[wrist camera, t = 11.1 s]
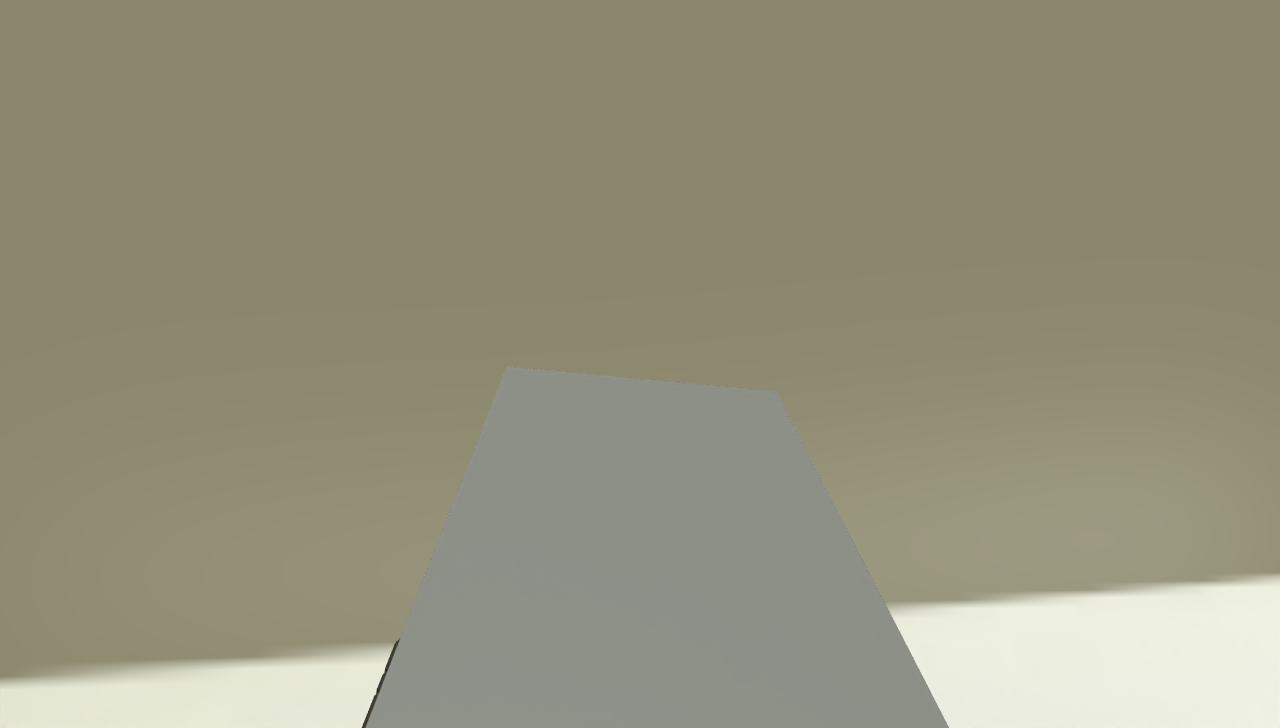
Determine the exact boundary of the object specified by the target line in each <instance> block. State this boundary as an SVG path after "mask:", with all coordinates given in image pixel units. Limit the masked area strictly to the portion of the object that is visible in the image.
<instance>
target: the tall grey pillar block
mask: <svg viewBox="0 0 1280 728" xmlns="http://www.w3.org/2000/svg"><path fill="white" fill-rule="evenodd" d="M366 728H949V727H948V725H947V723H946V721H945V719H944V717H943V715H942V713H941V711H940V709H939V707H938V705H937V703H936V702H935V700H934V698H933V696H932V694H931V692H930V690H929V688H928V686H927V684H926V682H925V680H924V678H923V676H922V674H921V672H920V670H919V668H918V667H917V665H916V663H915V661H914V659H913V657H912V655H911V653H910V651H909V649H908V647H907V645H906V643H905V641H904V639H903V637H902V635H901V633H900V632H899V630H898V628H897V626H896V624H895V622H894V620H893V618H892V616H891V614H890V612H889V610H888V608H887V606H886V604H885V602H884V601H883V598H882V597H881V595H880V593H879V591H878V589H877V587H876V585H875V583H874V581H873V579H872V577H871V575H870V573H869V571H868V569H867V567H866V565H865V563H864V562H863V560H862V558H861V556H860V554H859V552H858V550H857V548H856V546H855V544H854V542H853V540H852V538H851V536H850V534H849V532H848V531H847V528H846V526H845V525H844V523H843V521H842V519H841V517H840V515H839V513H838V511H837V509H836V507H835V505H834V503H833V501H832V499H831V497H830V496H829V494H828V492H827V490H826V488H825V486H824V484H823V482H822V480H821V478H820V476H819V474H818V472H817V470H816V468H815V466H814V464H813V462H812V460H811V458H810V456H809V454H808V453H807V451H806V449H805V447H804V445H803V443H802V441H801V439H800V437H799V435H798V434H797V431H796V429H795V427H794V425H793V423H792V421H791V420H790V418H789V416H788V414H787V412H786V410H785V408H784V406H783V404H782V402H781V400H780V398H779V396H778V395H777V392H775V391H774V392H773V391H764V390H754V389H742V388H732V387H721V386H711V385H710V386H709V385H699V384H689V383H678V382H668V381H656V380H646V379H634V378H625V377H613V376H603V375H591V374H581V373H571V372H560V371H549V370H538V369H528V368H517V367H506V369H505V371H504V374H503V376H502V379H501V381H500V384H499V387H498V389H497V392H496V394H495V397H494V399H493V402H492V405H491V407H490V410H489V412H488V415H487V417H486V420H485V422H484V425H483V428H482V430H481V433H480V435H479V438H478V441H477V443H476V446H475V448H474V451H473V453H472V456H471V458H470V461H469V464H468V466H467V469H466V471H465V474H464V476H463V479H462V482H461V484H460V487H459V489H458V492H457V494H456V497H455V499H454V502H453V505H452V507H451V510H450V512H449V515H448V517H447V520H446V523H445V525H444V528H443V530H442V533H441V535H440V538H439V541H438V543H437V546H436V548H435V551H434V553H433V556H432V558H431V561H430V564H429V566H428V569H427V571H426V574H425V576H424V579H423V582H422V584H421V587H420V589H419V592H418V594H417V597H416V600H415V602H414V605H413V607H412V610H411V612H410V615H409V617H408V620H407V623H406V625H405V628H404V630H403V633H402V635H401V638H400V641H399V643H398V646H397V648H396V651H395V653H394V656H393V658H392V661H391V664H390V666H389V669H388V671H387V674H386V676H385V679H384V682H383V684H382V687H381V689H380V692H379V694H378V697H377V700H376V702H375V705H374V707H373V710H372V712H371V715H370V717H369V720H368V723H367V725H366Z"/></svg>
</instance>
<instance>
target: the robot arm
mask: <svg viewBox="0 0 1280 728" xmlns="http://www.w3.org/2000/svg"><path fill="white" fill-rule="evenodd" d="M399 641H400V639H399V640H398V641H397V642H396V643H395V645H394V647H393V650H392V652H391V655H390V657H389V660H388V663H387V665H386V668H385V672H384V674H383V675H382V678H381V680H380V683H379V685H378V688H377V692H376V695H374V698H373V701H372V703H371V706H370V708H369V711H368V713H367V716H366V718H365V721H364V723H363V726H362V728H366V725H367V723H368V720H369V717H370V715H371V712H372V710H373V707H374V705H375V702H376V700H377V697H378V694H379V692H380V689H381V687H382V684H383V682H384V679H385V676H386V674H387V671H388V669H389V666H390V664H391V661H392V658H393V656H394V653H395V651H396V648H397V646H398V643H399Z"/></svg>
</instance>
